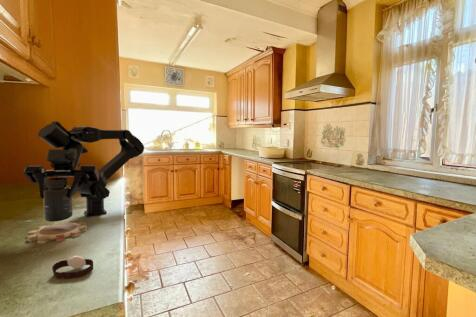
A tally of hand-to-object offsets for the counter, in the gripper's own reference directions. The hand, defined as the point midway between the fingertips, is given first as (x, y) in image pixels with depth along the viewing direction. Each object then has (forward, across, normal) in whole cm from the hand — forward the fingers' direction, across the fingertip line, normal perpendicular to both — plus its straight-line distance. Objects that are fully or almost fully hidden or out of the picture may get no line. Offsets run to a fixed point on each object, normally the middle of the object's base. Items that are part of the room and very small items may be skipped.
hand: (55, 197), depth 70 cm
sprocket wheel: (+7, 0, +9) cm, 11 cm away
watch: (+25, +13, -9) cm, 29 cm away
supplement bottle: (+4, 0, +6) cm, 7 cm away
